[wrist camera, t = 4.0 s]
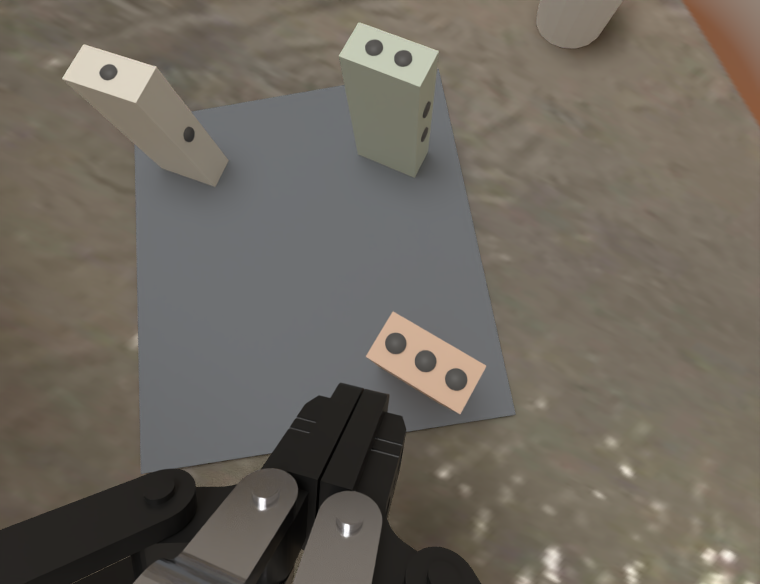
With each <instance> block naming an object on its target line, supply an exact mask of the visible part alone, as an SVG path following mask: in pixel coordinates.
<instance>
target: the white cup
mask: <svg viewBox="0 0 760 584" xmlns="http://www.w3.org/2000/svg"><path fill="white" fill-rule="evenodd" d="M622 1H623V0H540V3H539V7H538V11H537V18H536V26H537V28H538V30H539V32H540V34H541V36H543V37H544V38H545V39H546V40H547V41H548V42H549V43H551V44H553V45H556V46H559V47H561V48H574V49H576V48H579V47H583V46H586V45H588V44H590V43H591V42H592V41H594V40H595V39H596V38H598V36H599V35H600V33H601V32H602V30H603V29H604V27H605V26H606V25H607V23H608V22H609V20H610V19H611V17H612V16H613V14H614V13H615V11H616V10H617V9H618V7H619V6H620V4H621V3H622Z"/></svg>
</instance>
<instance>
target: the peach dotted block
mask: <svg viewBox="0 0 760 584" xmlns="http://www.w3.org/2000/svg"><path fill="white" fill-rule="evenodd" d="M366 357H367V358H368V359H369V360H371V361H372V362H373V363H375V364H376V365H377V366H379V367H380V368H382V369H384V370H385V371H387V372H388V373H390V374H392V375H393V376H395V377H397V378H398V379H400V380H402V381H403V382H405V383H406V384H408V385H410V386H411V387H413V388H415V389H416V390H418V391H419V392H421V393H423V394H424V395H426V396H428V397H429V398H431V399H433V400H434V401H436V402H437V403H439V404H441V405H443V406H445V407H447V408H449V409H451V410H453V411H455V412H457V413H458V414H461V412H462V410H463V408H464V407H465V405H466V403H467V401H468V399H469V397H470V396H471V394H472V392H473V390H474V388H475V386H476V385H477V383H478V381H479V379H480V377H481V375H482V373H483V372H484V370H485V368H486V365H484V364H483V363H481V362H479V361H477V360H476V359H474V358H472V357H471V356H469V355H467V354H465V353H464V352H462V351H460V350H459V349H457V348H455V347H453V346H452V345H450V344H448V343H446V342H445V341H443V340H441V339H440V338H438V337H436V336H434V335H433V334H431V333H429V332H428V331H426V330H424V329H422V328H421V327H419V326H417V325H416V324H414V323H412V322H410V321H409V320H407V319H405V318H404V317H402V316H400V315H398V314H397V313H395V312H392V314H391V315H390V317H389V319H388V320H387V322H386V324H385V325H384V327H383V329H382V330H381V332H380V333H379V335H378V337H377V338H376V340H375V342H374V343H373V345H372V347H371V348H370V350H369V352H368V353H367V355H366Z"/></svg>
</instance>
